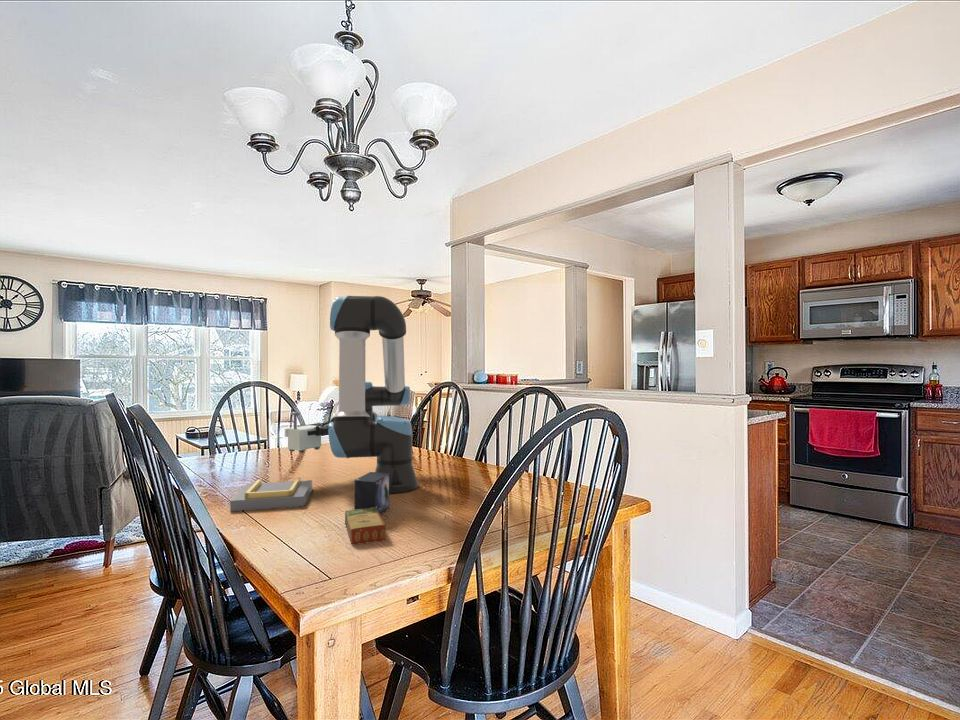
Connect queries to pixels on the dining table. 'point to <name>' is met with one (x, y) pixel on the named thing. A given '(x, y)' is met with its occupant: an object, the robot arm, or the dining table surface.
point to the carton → (364, 525)
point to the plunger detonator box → (302, 443)
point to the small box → (372, 491)
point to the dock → (272, 495)
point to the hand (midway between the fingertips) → (292, 433)
